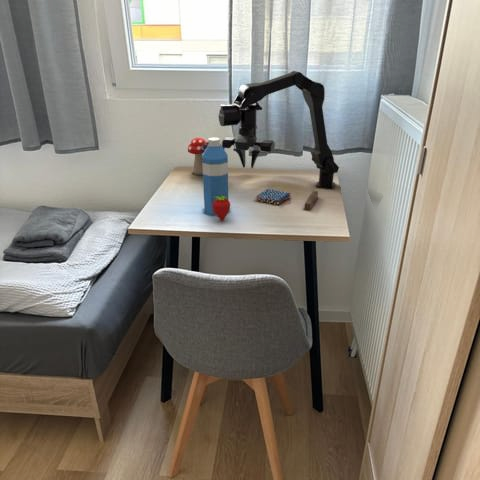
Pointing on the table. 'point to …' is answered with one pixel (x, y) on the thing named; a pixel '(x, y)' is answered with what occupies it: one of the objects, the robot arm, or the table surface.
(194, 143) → the decorative mushroom
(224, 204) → the strawberry
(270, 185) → the table surface
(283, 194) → the woven mat
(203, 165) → the water bottle
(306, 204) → the bar
